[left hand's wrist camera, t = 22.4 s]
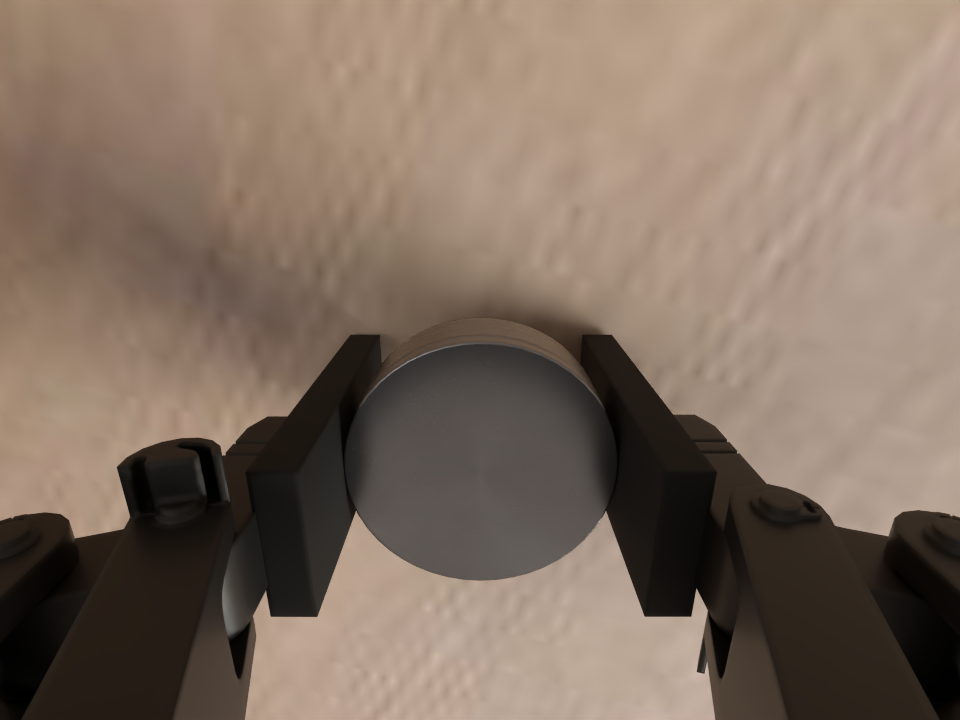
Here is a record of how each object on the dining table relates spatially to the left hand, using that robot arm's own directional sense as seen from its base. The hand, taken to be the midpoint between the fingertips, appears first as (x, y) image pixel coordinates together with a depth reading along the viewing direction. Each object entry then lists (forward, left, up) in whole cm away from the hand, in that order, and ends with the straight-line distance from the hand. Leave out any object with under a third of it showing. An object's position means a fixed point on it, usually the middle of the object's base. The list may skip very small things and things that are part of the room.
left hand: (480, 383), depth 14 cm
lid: (0, 0, +4) cm, 4 cm away
